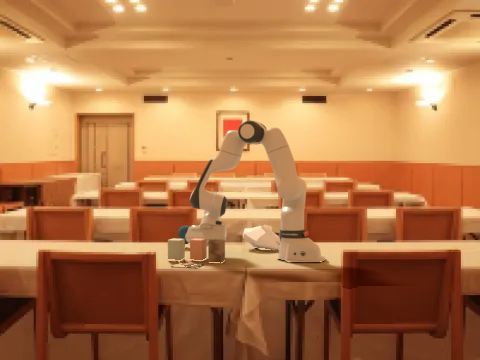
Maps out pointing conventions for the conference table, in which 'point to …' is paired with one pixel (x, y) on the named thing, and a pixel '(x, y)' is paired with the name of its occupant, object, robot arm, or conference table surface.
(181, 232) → the light bulb
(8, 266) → the conference table surface
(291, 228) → the robot arm
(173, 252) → the sage block
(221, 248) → the walnut block
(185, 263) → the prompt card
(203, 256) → the terracotta block
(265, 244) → the paper
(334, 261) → the conference table surface
